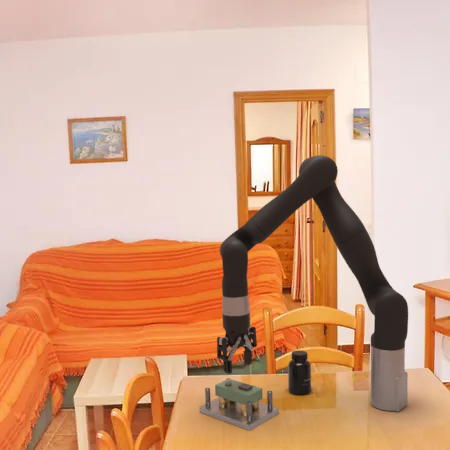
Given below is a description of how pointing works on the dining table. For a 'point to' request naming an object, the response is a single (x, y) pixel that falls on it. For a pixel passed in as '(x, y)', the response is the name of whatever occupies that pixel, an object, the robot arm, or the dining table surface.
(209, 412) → the chassis
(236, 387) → the board
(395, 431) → the dining table surface
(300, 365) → the supplement bottle
